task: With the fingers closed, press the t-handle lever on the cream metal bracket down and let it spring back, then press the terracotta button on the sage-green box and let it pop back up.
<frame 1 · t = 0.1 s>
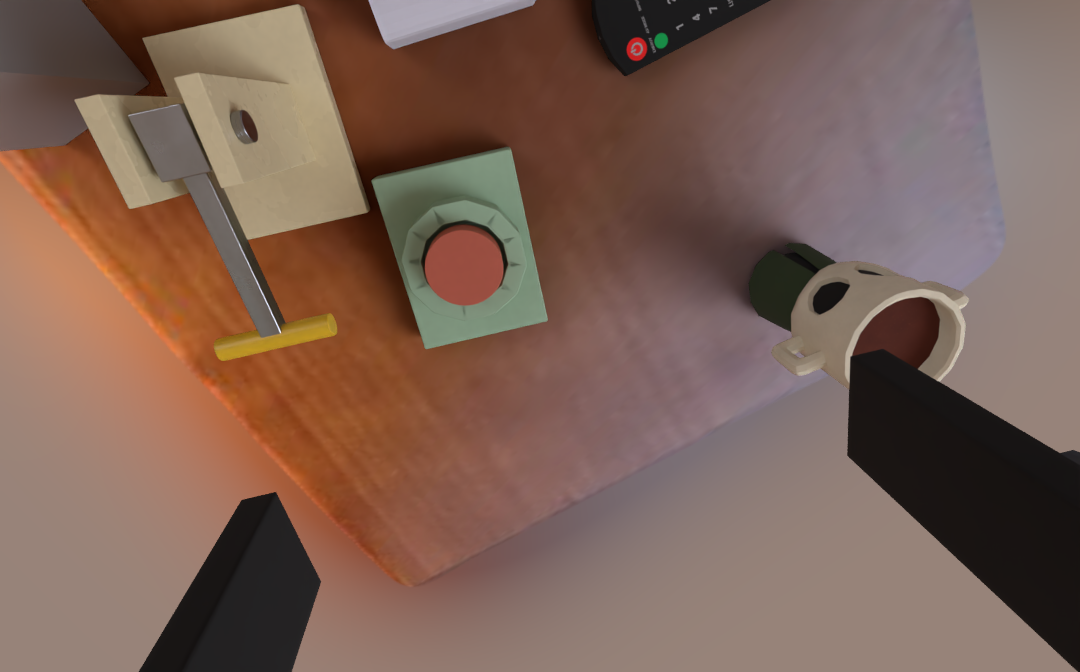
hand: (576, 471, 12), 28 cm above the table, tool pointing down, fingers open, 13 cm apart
button box: (465, 248, 38), on the table
trigger bracket: (269, 131, 34), on the table
t-handle lever: (230, 239, 26), point 11 cm above the table, hinge at -3.6°
button: (464, 265, 34), point 4 cm above the table, slide at 0.1 cm
perfume bottle: (61, 61, 32), on the table
character mug: (782, 280, 42), on the table
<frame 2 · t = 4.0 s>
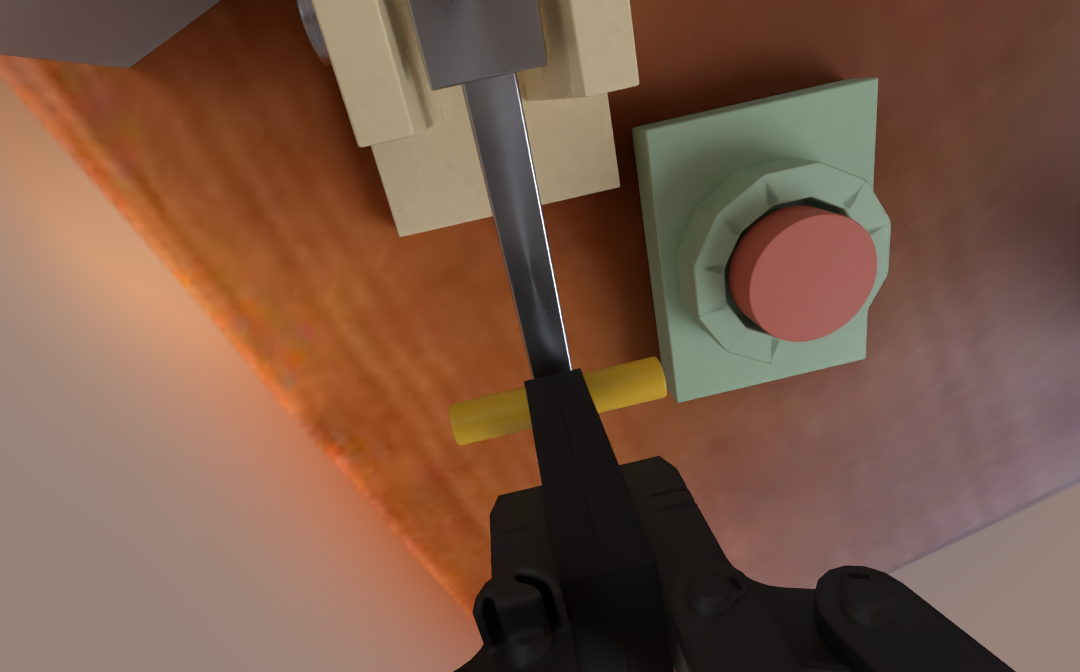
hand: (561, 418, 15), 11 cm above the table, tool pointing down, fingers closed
button box: (746, 245, 24), on the table
trigger bracket: (472, 47, 20), on the table
t-handle lever: (519, 221, 13), point 10 cm above the table, hinge at -8.3°, touching gripper
button: (800, 274, 20), point 4 cm above the table, slide at 0.1 cm
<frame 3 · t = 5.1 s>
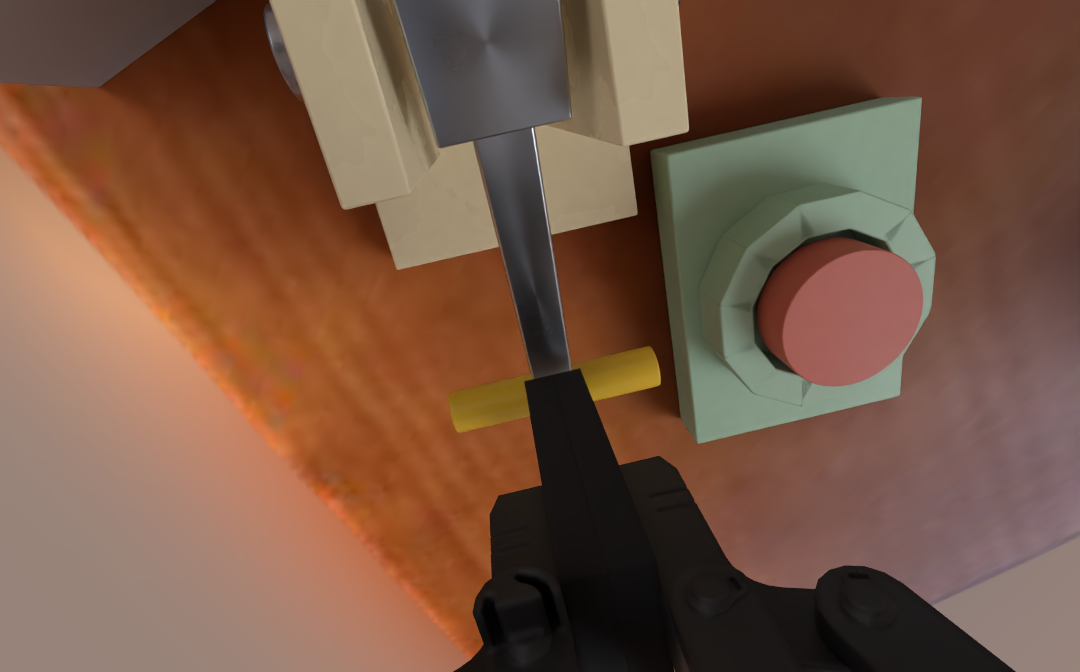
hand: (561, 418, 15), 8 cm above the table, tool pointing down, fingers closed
button box: (771, 275, 23), on the table
trigger bracket: (477, 64, 18), on the table
t-handle lever: (525, 245, 12), point 9 cm above the table, hinge at -24.8°, touching gripper
button: (836, 312, 19), point 4 cm above the table, slide at 0.1 cm
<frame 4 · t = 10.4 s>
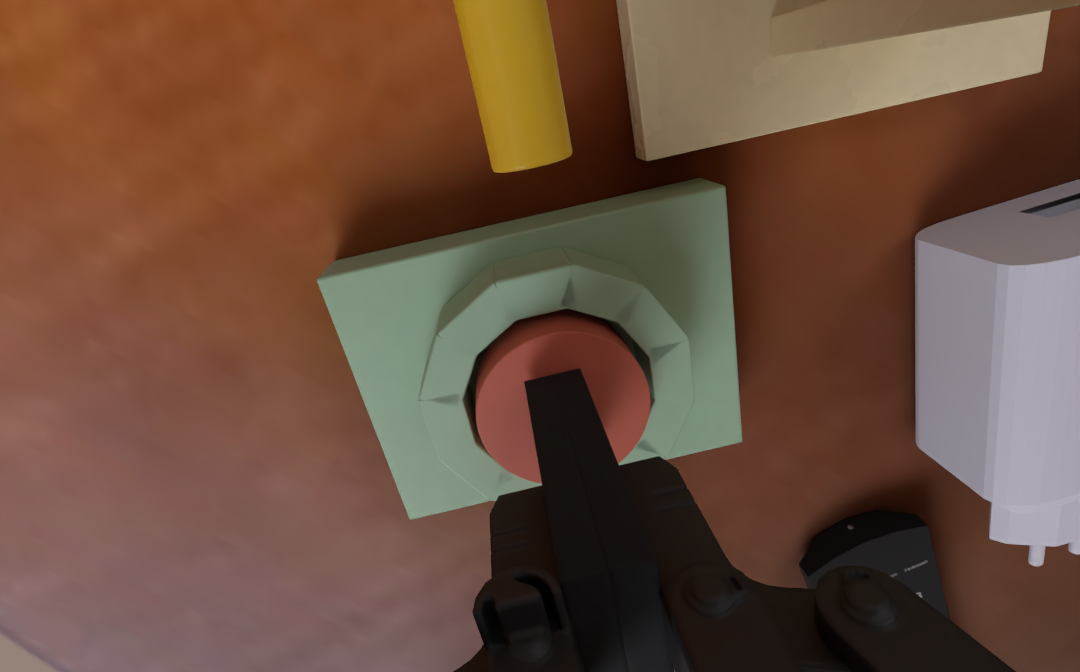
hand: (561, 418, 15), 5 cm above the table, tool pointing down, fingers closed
button box: (545, 344, 19), on the table
charger: (1010, 374, 22), on the table
button: (560, 397, 16), point 4 cm above the table, slide at -0.6 cm, touching gripper
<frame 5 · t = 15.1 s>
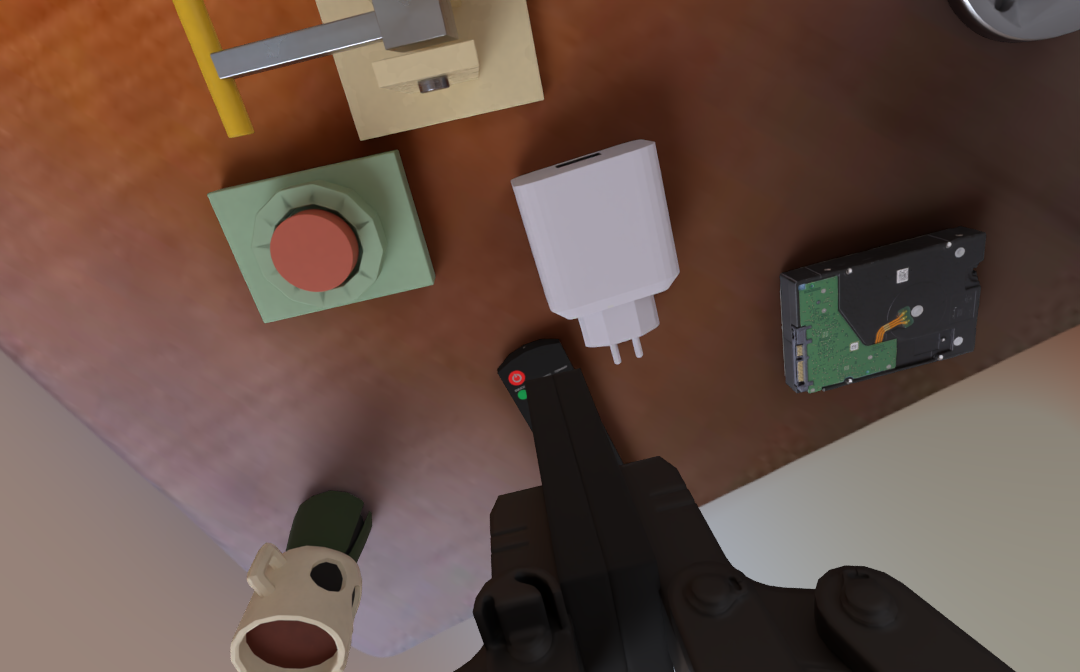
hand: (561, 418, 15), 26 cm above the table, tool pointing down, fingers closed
button box: (333, 235, 38), on the table
disk drive: (865, 306, 45), on the table
trigger bracket: (434, 43, 34), on the table
charger: (598, 258, 41), on the table
t-handle lever: (320, 41, 25), point 10 cm above the table, hinge at -11.1°
button: (315, 250, 34), point 4 cm above the table, slide at 0.1 cm
remote control: (585, 455, 47), on the table
character mug: (336, 514, 47), on the table
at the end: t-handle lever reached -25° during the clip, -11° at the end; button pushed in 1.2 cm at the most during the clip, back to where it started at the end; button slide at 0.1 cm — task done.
